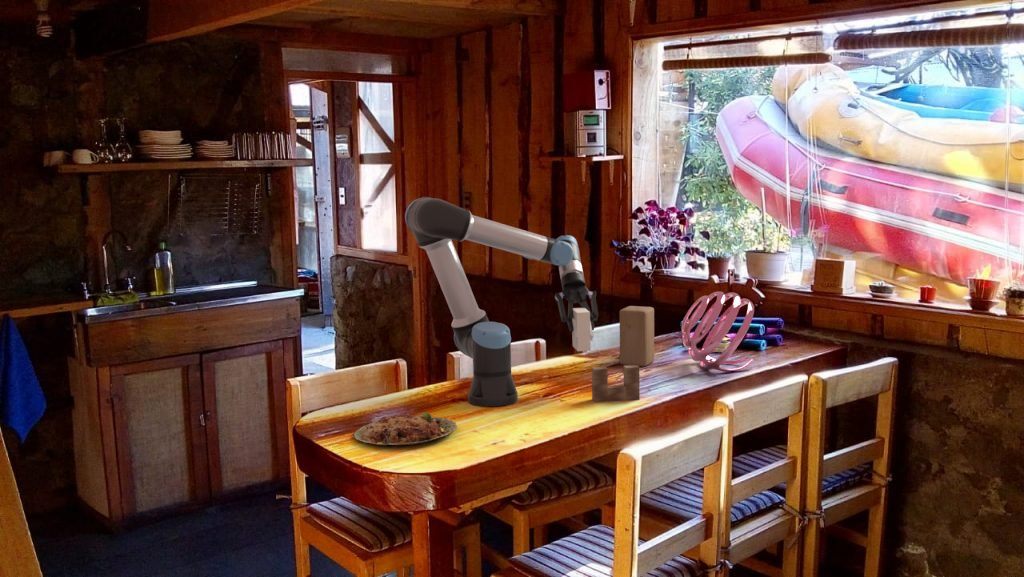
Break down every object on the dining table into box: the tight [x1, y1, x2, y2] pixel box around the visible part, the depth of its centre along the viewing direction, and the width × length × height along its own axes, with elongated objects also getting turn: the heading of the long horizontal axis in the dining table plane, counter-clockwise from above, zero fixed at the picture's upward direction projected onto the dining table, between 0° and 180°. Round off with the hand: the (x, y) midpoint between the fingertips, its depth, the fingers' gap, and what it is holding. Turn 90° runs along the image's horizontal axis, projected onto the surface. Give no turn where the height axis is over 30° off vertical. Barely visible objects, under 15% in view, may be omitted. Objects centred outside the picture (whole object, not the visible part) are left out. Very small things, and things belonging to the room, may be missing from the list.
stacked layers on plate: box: [712, 336, 732, 354], centre depth 330 cm, size 10×9×6 cm
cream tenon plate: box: [571, 307, 591, 352], centre depth 272 cm, size 4×8×12 cm, turn 7°
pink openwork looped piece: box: [681, 291, 755, 373], centre depth 302 cm, size 28×28×27 cm
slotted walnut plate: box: [591, 365, 641, 403], centre depth 267 cm, size 14×3×10 cm, turn 96°
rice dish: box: [352, 411, 458, 446], centre depth 238 cm, size 28×28×5 cm
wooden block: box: [619, 305, 655, 367], centre depth 313 cm, size 10×10×20 cm
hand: (583, 338), depth 268 cm, fingers closed on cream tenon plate, 4 cm apart
